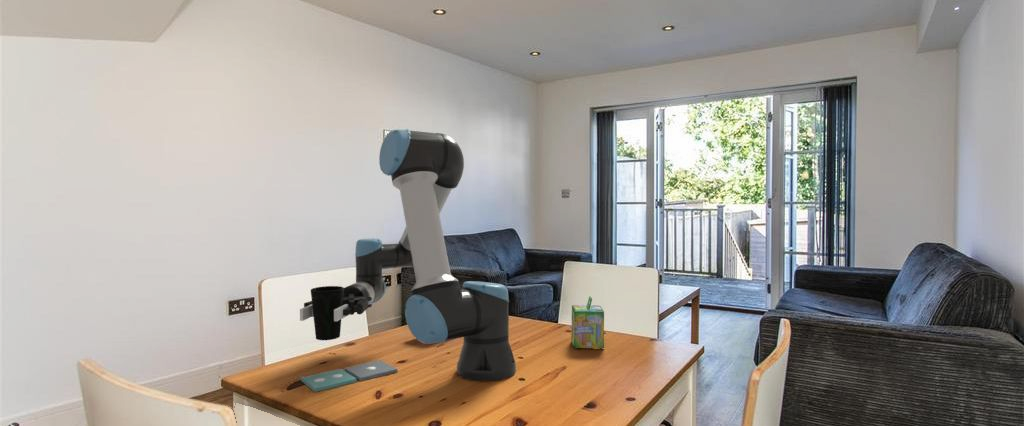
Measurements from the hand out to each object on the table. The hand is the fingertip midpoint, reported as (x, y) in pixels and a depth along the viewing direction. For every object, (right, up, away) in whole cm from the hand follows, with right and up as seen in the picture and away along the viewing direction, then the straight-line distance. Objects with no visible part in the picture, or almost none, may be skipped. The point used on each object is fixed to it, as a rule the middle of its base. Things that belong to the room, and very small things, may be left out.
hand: (318, 315), depth 119 cm
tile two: (+1, -17, +5) cm, 18 cm away
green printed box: (+69, -17, +35) cm, 79 cm away
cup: (0, -7, +5) cm, 8 cm away
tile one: (+9, -17, +12) cm, 23 cm away
